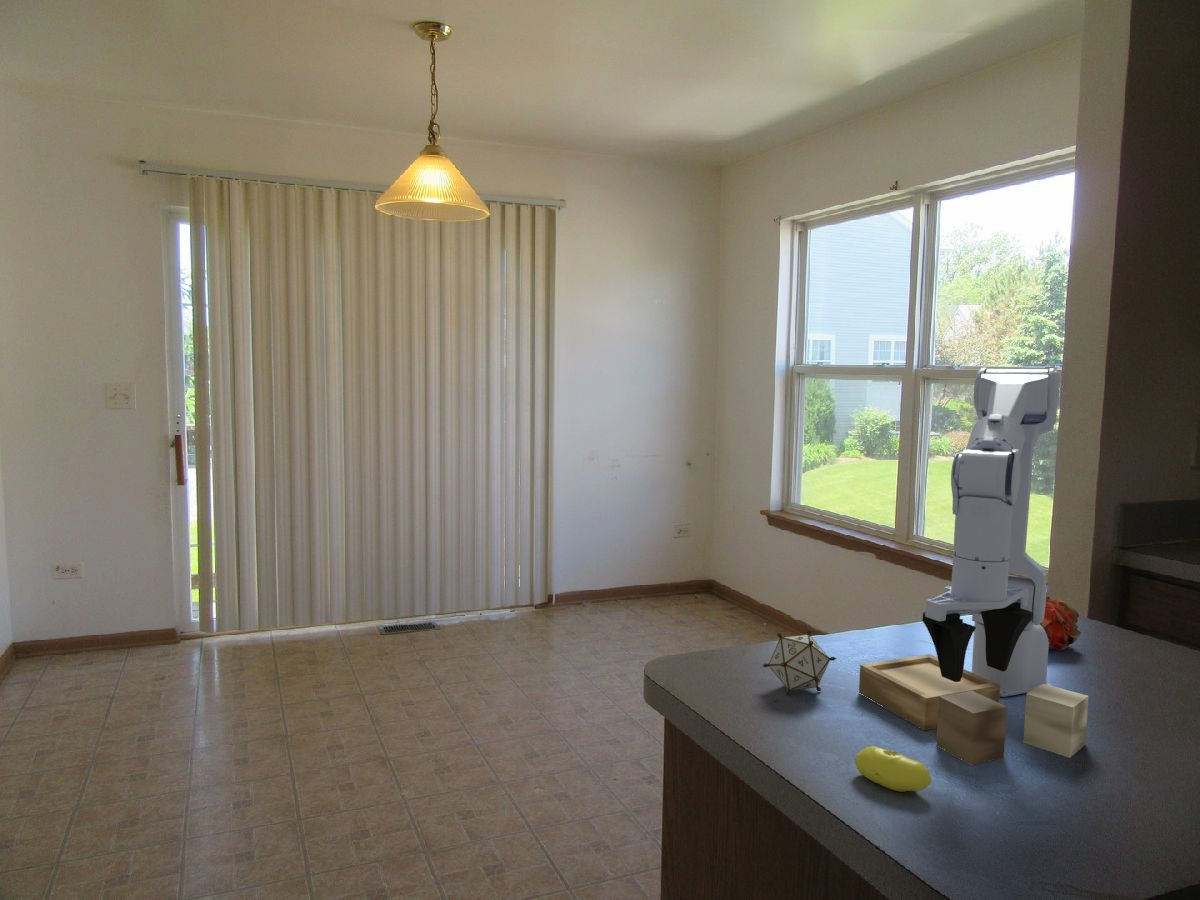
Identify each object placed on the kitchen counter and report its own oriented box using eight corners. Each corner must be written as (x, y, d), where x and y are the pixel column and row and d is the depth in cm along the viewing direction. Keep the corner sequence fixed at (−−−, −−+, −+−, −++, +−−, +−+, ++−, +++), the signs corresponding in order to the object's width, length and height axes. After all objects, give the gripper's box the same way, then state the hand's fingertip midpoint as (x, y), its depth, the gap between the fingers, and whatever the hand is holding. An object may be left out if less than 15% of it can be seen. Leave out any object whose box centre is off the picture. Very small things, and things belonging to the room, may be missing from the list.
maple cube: (1039, 730, 99) (1042, 683, 98) (1085, 745, 95) (1088, 695, 94) (1023, 743, 95) (1026, 693, 95) (1069, 758, 92) (1073, 707, 91)
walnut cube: (969, 739, 96) (971, 690, 96) (1003, 757, 92) (1006, 706, 91) (936, 745, 94) (939, 696, 94) (970, 765, 90) (973, 713, 89)
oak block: (928, 682, 114) (929, 654, 113) (998, 716, 103) (1000, 685, 102) (858, 693, 109) (860, 664, 109) (924, 730, 98) (926, 698, 98)
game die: (809, 721, 109) (838, 680, 103) (750, 694, 111) (775, 652, 104) (819, 670, 116) (847, 629, 110) (764, 645, 117) (788, 603, 111)
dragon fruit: (1061, 647, 134) (1041, 677, 125) (1017, 610, 137) (994, 637, 129) (1098, 615, 129) (1079, 643, 120) (1051, 577, 133) (1029, 602, 124)
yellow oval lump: (865, 766, 89) (866, 732, 89) (937, 793, 84) (939, 757, 83) (846, 779, 87) (847, 744, 86) (919, 808, 81) (921, 771, 80)
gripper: (993, 543, 98) (986, 653, 99) (906, 554, 91) (900, 671, 92) (1048, 556, 91) (1040, 672, 93) (958, 568, 85) (951, 693, 86)
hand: (974, 673), depth 92 cm, fingers open, 7 cm apart
